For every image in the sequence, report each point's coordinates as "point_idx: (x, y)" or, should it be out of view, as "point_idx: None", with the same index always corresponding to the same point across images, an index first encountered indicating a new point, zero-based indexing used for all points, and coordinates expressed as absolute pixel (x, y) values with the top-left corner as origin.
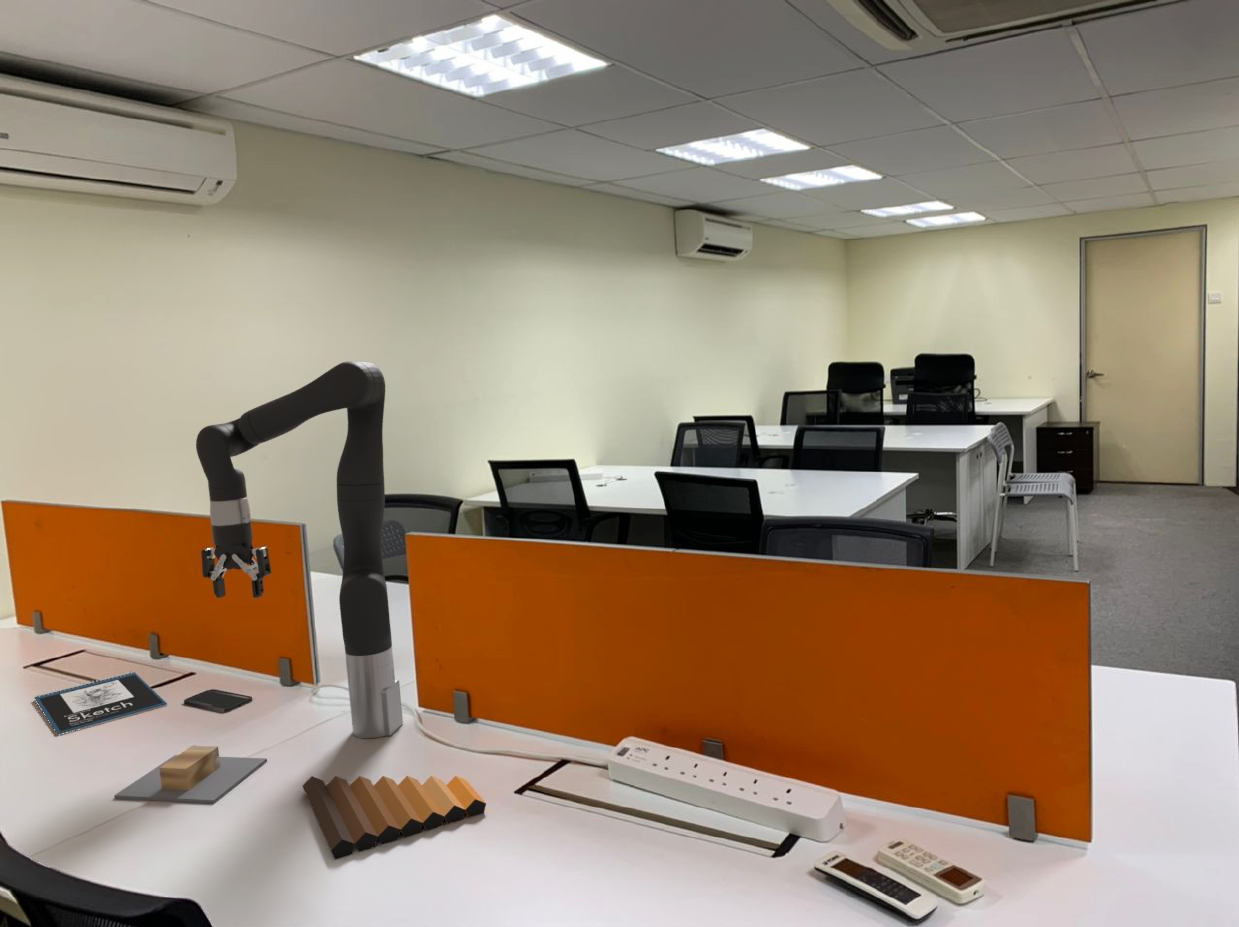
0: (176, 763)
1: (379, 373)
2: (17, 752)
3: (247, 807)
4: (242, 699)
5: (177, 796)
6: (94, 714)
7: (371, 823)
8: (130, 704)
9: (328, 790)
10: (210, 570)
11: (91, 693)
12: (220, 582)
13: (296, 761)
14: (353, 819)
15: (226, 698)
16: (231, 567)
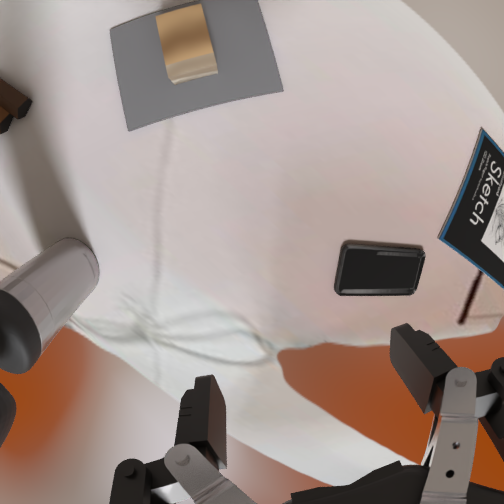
0: (185, 19)
1: None
2: (479, 85)
3: (68, 47)
4: (347, 284)
5: (163, 13)
6: (486, 184)
7: None
8: (472, 220)
9: (2, 108)
10: (497, 406)
11: None
12: (423, 385)
13: (92, 149)
14: None
15: (373, 279)
16: (363, 486)
